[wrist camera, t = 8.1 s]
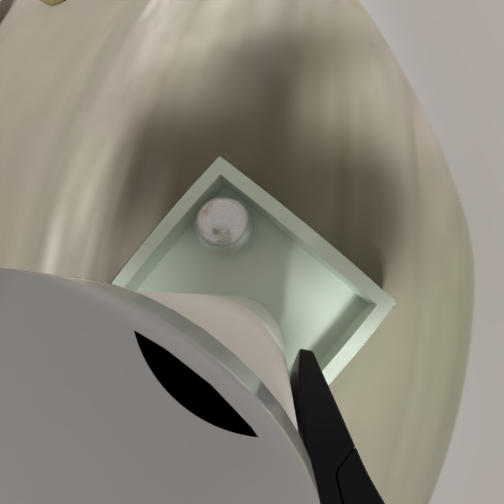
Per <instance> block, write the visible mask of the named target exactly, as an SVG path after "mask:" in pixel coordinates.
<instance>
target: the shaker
mask: <svg viewBox="0 0 504 504" xmlns="http://www.w3.org/2000/svg"><path fill="white" fill-rule="evenodd" d="M0 504H321V503H320V499H319V494H318V489H317V484H316V480H315V476H314V472H313V468H312V464H311V460H310V458H309V455H308V453H307V451H306V448H305V446H304V444H303V442H302V439H301V437H300V435H299V433H298V427H297V421H296V415H295V409H294V403H293V398H292V392H291V386H290V380H289V374H288V369H287V363H286V357H285V352H284V346H283V340H282V335H281V332H280V329H279V326H278V324H277V322H276V320H275V319H274V317H273V316H272V315H271V313H270V312H269V311H268V310H267V309H266V308H265V307H264V306H262V305H261V304H260V303H258V302H256V301H254V300H252V299H250V298H247V297H244V296H240V295H223V294H189V293H163V292H142V291H131V290H128V289H125V288H123V287H120V286H117V285H114V284H109V283H104V282H100V281H95V280H90V279H83V278H75V277H67V276H59V275H52V274H44V273H37V272H29V271H22V270H16V269H3V268H0Z"/></svg>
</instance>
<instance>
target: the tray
mask: <svg viewBox="0 0 504 504" xmlns="http://www.w3.org/2000/svg"><path fill="white" fill-rule="evenodd" d="M218 196H230V197H234V198H236V199H238V200H240V201H242V202H243V203H244V204H245V205H246V206H247V207H248V209H249V210H250V212H251V214H252V217H253V222H254V229H253V234H252V237H251V239H250V241H249V242H248V243H247V245H246V246H245V247H244V248H243V249H241V250H240V251H238V252H236V253H233V254H229V255H219V254H215V253H212V252H210V251H208V250H207V249H206V248H204V247H203V246H202V244H201V243H200V242H199V240H198V238H197V236H196V232H195V218H196V215H197V213H198V211H199V209H200V208H201V207H202V205H203V204H204V203H206V202H207V201H208V200H210V199H212V198H215V197H218ZM111 284H114V285H117V286H120V287H123V288H125V289H128V290H131V291H142V292H163V293H189V294H223V295H240V296H244V297H247V298H250V299H252V300H254V301H256V302H258V303H260V304H261V305H262V306H264V307H265V308H266V309H267V310H268V311H269V312H270V313H271V315H272V316H273V317H274V319H275V320H276V322H277V324H278V326H279V329H280V332H281V335H282V340H283V346H284V352H285V357H286V363H287V369H288V374H289V380H290V376H291V371H292V366H293V363H294V361H295V358H296V356H297V353H298V351H299V349H305V350H311V351H313V353H314V355H315V357H316V359H317V361H318V364H319V366H320V368H321V370H322V373H323V375H324V377H325V379H326V382H327V384H328V385H329V384H330V383H331V382H332V380H333V379H334V378H335V377H336V376H337V375H338V374H339V373H340V371H341V370H342V369H343V368H344V367H345V366H346V365H347V363H348V362H349V361H350V360H351V359H352V358H353V356H354V355H355V354H356V353H357V352H358V350H359V349H360V348H361V347H362V346H363V344H364V343H365V342H366V341H367V339H368V338H369V337H370V336H371V335H372V333H373V332H374V331H375V329H376V328H377V327H378V326H379V324H380V323H381V322H382V320H383V319H384V318H385V317H386V315H387V314H388V313H389V311H390V310H391V309H392V307H393V306H394V305H395V303H396V301H395V300H393V299H392V298H391V297H390V296H389V295H388V294H387V293H386V292H385V291H383V290H382V289H381V288H380V287H379V286H378V285H377V284H376V283H375V282H373V281H372V280H371V279H370V278H369V277H368V276H367V275H365V274H364V273H363V272H362V271H361V270H360V269H359V268H357V267H356V266H355V265H354V264H353V263H352V262H351V261H349V260H348V259H347V258H346V257H345V256H344V255H342V254H341V253H340V252H339V251H338V250H337V249H335V248H334V247H333V246H332V245H331V244H329V243H328V242H327V241H326V240H325V239H324V238H322V237H321V236H320V235H319V234H318V233H316V232H315V231H314V230H313V229H312V228H310V227H309V226H308V225H307V224H305V223H304V222H303V221H302V220H301V219H299V218H298V217H297V216H296V215H294V214H293V213H292V212H291V211H290V210H288V209H287V208H286V207H285V206H283V205H282V204H281V203H280V202H278V201H277V200H276V199H275V198H273V197H272V196H271V195H270V194H268V193H267V192H266V191H265V190H263V189H262V188H261V187H259V186H258V185H257V184H256V183H254V182H253V181H252V180H250V179H249V178H248V177H247V176H245V175H244V174H243V173H241V172H240V171H239V170H237V169H236V168H235V167H234V166H232V165H231V164H230V163H228V162H227V161H226V160H224V159H223V158H222V157H220V156H219V157H218V158H217V159H216V160H215V161H214V162H213V163H212V165H211V166H210V167H209V168H208V169H207V170H206V171H205V172H204V173H203V174H202V175H201V176H200V178H199V179H198V180H197V181H196V182H195V183H194V184H193V185H192V186H191V188H190V189H189V190H188V191H187V192H186V193H185V194H184V195H183V197H182V198H181V199H180V200H179V201H178V202H177V203H176V205H175V206H174V207H173V208H172V209H171V210H170V211H169V213H168V214H167V215H166V216H165V217H164V218H163V220H162V221H161V222H160V223H159V224H158V226H157V227H156V228H155V229H154V230H153V232H152V233H151V234H150V235H149V236H148V238H147V239H146V240H145V241H144V243H143V244H142V245H141V246H140V247H139V249H138V250H137V251H136V252H135V254H134V255H133V256H132V257H131V259H130V260H129V261H128V262H127V264H126V265H125V266H124V268H123V269H122V270H121V271H120V273H119V274H118V275H117V277H116V278H115V279H114V281H113V282H112V283H111Z"/></svg>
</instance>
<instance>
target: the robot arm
mask: <svg viewBox="0 0 504 504" xmlns="http://www.w3.org/2000/svg"><path fill="white" fill-rule="evenodd" d="M290 386H291V392H292V398H293V403H294V409H295V415H296V421H297V427H298V433H299V435H300V437H301V439H302V442H303V444H304V446H305V448H306V451H307V453H308V455H309V458H310V460H311V464H312V468H313V472H314V476H315V480H316V484H317V489H318V494H319V499H320V503H321V504H385V503H384V501H383V500H382V498H381V496H380V495H379V493H378V491H377V490H376V488H375V486H374V484H373V482H372V481H371V479H370V477H369V475H368V473H367V471H366V469H365V467H364V465H363V463H362V460H361V458H360V456H359V454H358V451H357V449H356V448H354V447H355V445H354V443H353V441H352V438H351V436H350V434H349V431H348V429H347V427H346V425H345V422H344V420H343V418H342V415H341V413H340V411H339V409H338V406H337V404H336V402H335V400H334V397H333V395H332V393H331V391H330V388H329V386H328V384H327V382H326V379H325V377H324V375H323V373H322V370H321V368H320V366H319V364H318V361H317V359H316V357H315V355H314V353H313V351H311V350H305V349H299V351H298V353H297V356H296V358H295V361H294V363H293V366H292V371H291V376H290Z"/></svg>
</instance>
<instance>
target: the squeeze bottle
mask: <svg viewBox="0 0 504 504" xmlns="http://www.w3.org/2000/svg"><path fill="white" fill-rule="evenodd" d="M40 1H42V2H44V3H46V4H47V5H51V6H52V5H55V4H58V3H60V2H62V1H64V0H40Z"/></svg>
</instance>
